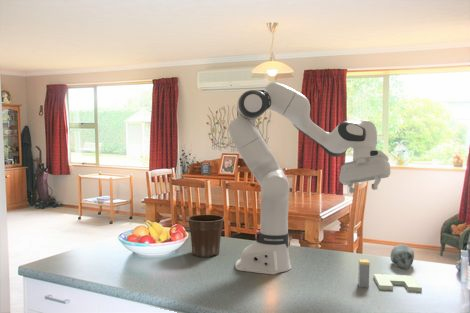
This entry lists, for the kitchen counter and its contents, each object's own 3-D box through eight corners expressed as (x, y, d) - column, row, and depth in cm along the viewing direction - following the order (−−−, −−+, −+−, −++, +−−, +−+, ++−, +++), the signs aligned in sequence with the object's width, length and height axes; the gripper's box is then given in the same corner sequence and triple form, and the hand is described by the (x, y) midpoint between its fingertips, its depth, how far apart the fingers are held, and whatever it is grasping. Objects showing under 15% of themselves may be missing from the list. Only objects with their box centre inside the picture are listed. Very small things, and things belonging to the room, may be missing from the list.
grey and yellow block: (359, 286, 152) (360, 261, 152) (358, 283, 156) (358, 259, 155) (368, 287, 152) (369, 262, 151) (367, 284, 155) (368, 259, 155)
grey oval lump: (418, 264, 167) (407, 240, 170) (395, 273, 170) (384, 249, 173) (420, 263, 179) (409, 240, 183) (398, 271, 182) (387, 248, 186)
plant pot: (187, 248, 199) (187, 214, 198) (222, 247, 201) (222, 213, 200) (187, 259, 183) (187, 221, 182) (225, 258, 185) (225, 221, 184)
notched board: (379, 289, 150) (379, 285, 150) (373, 277, 162) (373, 273, 162) (421, 291, 148) (421, 287, 148) (412, 279, 160) (412, 275, 160)
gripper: (337, 160, 174) (334, 191, 168) (384, 149, 160) (383, 183, 154) (345, 167, 178) (343, 197, 172) (392, 156, 164) (392, 190, 158)
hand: (362, 191), depth 163 cm, fingers open, 8 cm apart
